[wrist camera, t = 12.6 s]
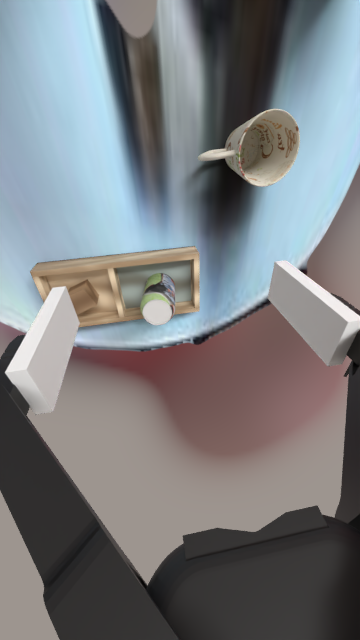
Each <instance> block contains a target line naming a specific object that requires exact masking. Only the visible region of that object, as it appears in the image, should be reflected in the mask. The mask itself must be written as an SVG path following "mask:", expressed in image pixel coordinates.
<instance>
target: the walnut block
mask: <svg viewBox="0 0 360 640" xmlns="http://www.w3.org/2000/svg"><path fill="white" fill-rule="evenodd" d="M68 293H69V296H70V299H71V301H72V304H73V306H74V308H75V309H76V311H77V312H78V313H81V312H83V311H86V310H88V309H90V308H92V307H94V306H96V305H97V303H98V298H99V294H98V293H97V291H96V290H95V289H94V287H93V286H92V285H91V283H90V282H89V281H88V279H87V280H85V281H83V282H81V283H79V284H76V285H74V286H72V287H70V289H69V291H68Z"/></svg>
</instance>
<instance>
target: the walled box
mask: <svg viewBox="0 0 360 640" xmlns="http://www.w3.org/2000/svg"><path fill="white" fill-rule="evenodd" d="M30 273H31V275H32V277H33V280H34V282H35V284H36V286H37V288H38V291H39V293H40V295H41V297H42V299H43V301H44V302H45V300H46V298H47V297H48V295H49V293H50V291H51V290H52V288H55V287H63V286H66V288H67V291H69V289H70V287H72V286H74V285H76V284H79V283H81V282H83V281H85V280H87V279H88V281H89V282H90V283H91V285H92V286H93V287H94V289H95V290H96V291H97V293H98V294H99V298H98V303H97V305H96V306H94V307H92V308H90V309H88V310H86V311H83V312H81V313H78V312H77V311H76V309H75V308H74V309H75V312H76V314H77V317H78V320H79V322H80V324H79V327H84V326H92V325H99V324H107V323H114V322H122V321H129V320H137V319H144V317H143V316H142V314H141V310H140V305H141V301H142V297H143V293H144V289H145V285H146V282H147V280H148V278H149V277H150V276H151V275H153V274H156V273H163V274H166V275H168V276H170V277H171V278H172V279H173V281H174V284H175V313H174V314H182V313H189V312H197V311H199V252H198V251H197V249H196V247H195V246H192V247H182V248H173V249H164V250H154V251H145V252H135V253H126V254H117V255H107V256H98V257H89V258H79V259H70V260H60V261H51V262H42V263H37V264H36V265H35V266H34V268H33V269H32V270H31V271H30Z"/></svg>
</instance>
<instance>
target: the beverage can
mask: <svg viewBox="0 0 360 640" xmlns="http://www.w3.org/2000/svg"><path fill="white" fill-rule="evenodd" d="M140 310H141V314H142V316H143V317H144V318H145V320H146V321H147V322H149V323H150V324H153V325H162V324H165V323H167V322H168V321H169V320H170V319H171V318H172V317H173V315H174V313H175V284H174V281H173V279H172V278H171V277H170V276H168V275H166V274H163V273H156V274H153V275H151V276H150V277H149V278H148V280H147V282H146V285H145V289H144V293H143V297H142V301H141V305H140Z"/></svg>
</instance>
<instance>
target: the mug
mask: <svg viewBox="0 0 360 640" xmlns="http://www.w3.org/2000/svg"><path fill="white" fill-rule="evenodd" d="M299 143H300V135H299V129H298V126H297V123H296V121H295V119H294V118H293V117H292V116H291V115H290V114H289V113H288V112H286V111H284V110H281V109H271V110H267V111H264V112H262V113H260V114H258V115H257V116H255V117H254V118H252V119H251V120H249V121H247V122H246V123H244V124H243V125H241V126H240V127H238V128H237V129H235V130H234V131H233V132H232V133H231V134H230V136H229V137H228V139H227V141H226V144H225V149H217V150H210V151H207V152H205V153H203V154H201V155H199V157H198V160H200V161H209V160H217V159H222V158H225V160H226V162H227V164H228V166H229V167H230V168H231V169H232V170H234V171H235V172H236V173H237V174H238V175H240V176H241V177H242V178H243V179H245V180H246V181H247V182H249V183H250V184H252V185H255V186H259V187H264V186H269V185H272V184H274V183H276V182H278V181H279V180H281V179H282V178H283V177H284V176H285V175H286V174H287V173H288V171H289V170H290V169H291V167H292V165H293V164H294V162H295V159H296V157H297V154H298V150H299Z"/></svg>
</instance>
